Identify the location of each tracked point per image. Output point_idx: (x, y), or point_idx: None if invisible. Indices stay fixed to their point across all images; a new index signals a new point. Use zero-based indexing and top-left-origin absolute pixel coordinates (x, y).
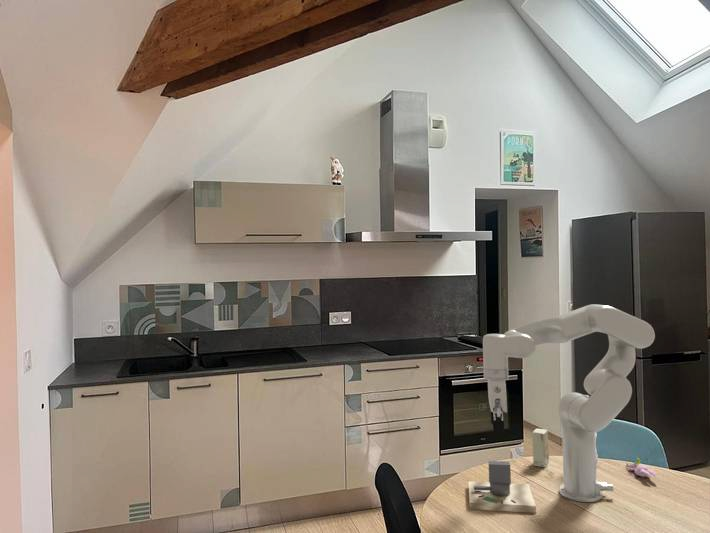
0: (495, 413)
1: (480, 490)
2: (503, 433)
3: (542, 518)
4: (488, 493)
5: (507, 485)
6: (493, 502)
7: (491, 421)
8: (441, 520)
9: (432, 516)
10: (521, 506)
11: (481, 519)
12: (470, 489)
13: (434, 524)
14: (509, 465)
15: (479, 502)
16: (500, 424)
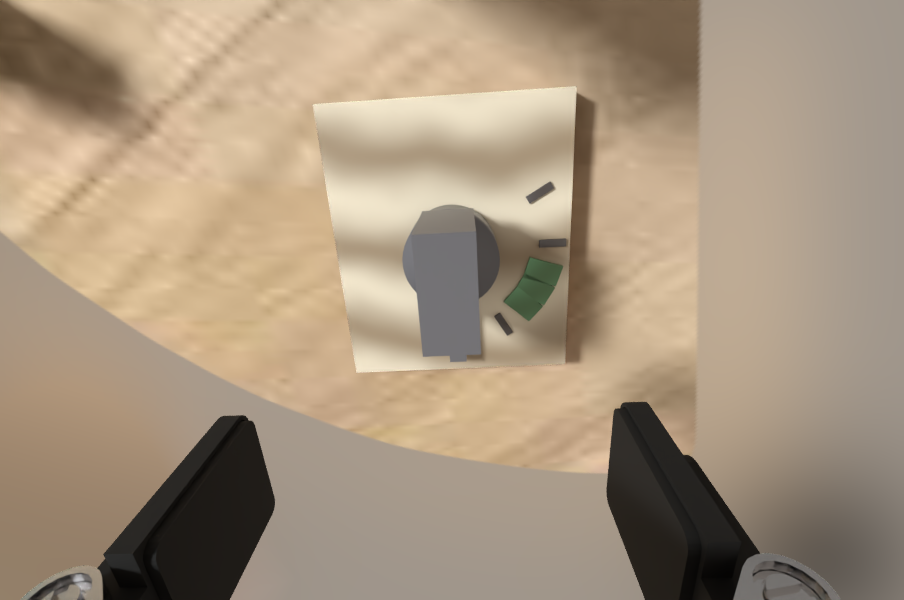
0: (191, 597)
1: None
2: (643, 404)
3: (622, 62)
4: None
5: (484, 225)
6: (558, 277)
7: (257, 529)
8: None
9: None
10: (573, 157)
11: (641, 311)
12: (440, 363)
13: (681, 447)
14: (475, 235)
15: (562, 329)
16: (738, 533)
